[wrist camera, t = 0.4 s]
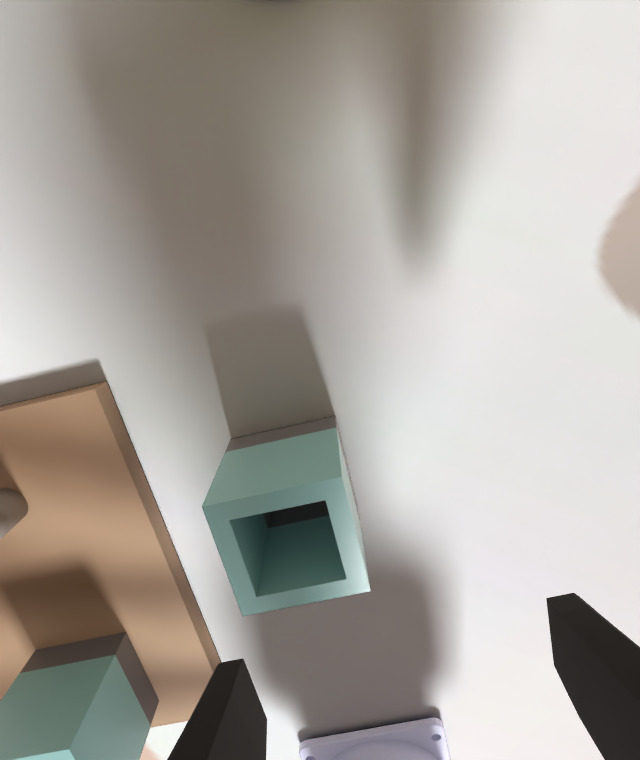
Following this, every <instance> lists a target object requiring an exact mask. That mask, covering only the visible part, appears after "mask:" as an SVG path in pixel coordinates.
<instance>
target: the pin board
mask: <svg viewBox="0 0 640 760" xmlns="http://www.w3.org/2000/svg"><path fill="white" fill-rule="evenodd" d="M122 632H127V634H128V636H129V639H130V641H131V643H132V645H133V647H134V649H135V651H136V653H137V655H138V657H139V659H140V661H141V663H142V666H143V668H144V670H145V672H146V674H147V676H148V678H149V680H150V682H151V684H152V686H153V688H154V690H155V693H156V695H157V697H158V699H159V703H158V706H157V709H156V712H155V715H154V718H153V721H152V724H151V726H150V728H151V727H156V726H162V725H167V724H173V723H178V722H184V721H189V719H190V717H191V715H192V713H193V711H194V709H195V707H196V705H197V703H198V701H199V700H200V698H201V696H202V694H203V692H204V690H205V688H206V686H207V684H208V682H209V680H210V678H211V676H212V674H213V672H214V670H215V668H216V667H217V665H218V664H219V663H221V661H220V659H219V657H218V654H217V652H216V649H215V647H214V644H213V642H212V639H211V637H210V634H209V632H208V629H207V627H206V625H205V622H204V620H203V617H202V615H201V612H200V610H199V607H198V605H197V602H196V600H195V598H194V595H193V593H192V590H191V588H190V585H189V583H188V580H187V578H186V575H185V573H184V570H183V568H182V566H181V563H180V561H179V558H178V556H177V553H176V551H175V548H174V546H173V543H172V541H171V539H170V536H169V534H168V531H167V529H166V526H165V524H164V521H163V519H162V516H161V514H160V511H159V509H158V507H157V504H156V502H155V499H154V497H153V494H152V492H151V489H150V487H149V484H148V482H147V480H146V477H145V475H144V472H143V470H142V467H141V465H140V462H139V460H138V457H137V455H136V452H135V450H134V448H133V445H132V443H131V440H130V438H129V435H128V433H127V430H126V428H125V425H124V423H123V421H122V418H121V416H120V413H119V411H118V408H117V406H116V403H115V401H114V398H113V396H112V393H111V391H110V389H109V386H108V384H107V381H106V382H102V383H98V384H93V385H89V386H85V387H81V388H77V389H72V390H68V391H64V392H60V393H55V394H51V395H47V396H43V397H38V398H34V399H30V400H26V401H21V402H17V403H13V404H9V405H5V406H0V701H1V699H2V698H3V696H4V695H5V693H6V692H7V691H8V689H9V688H10V686H11V685H12V683H13V682H14V680H15V679H16V677H17V676H18V675H19V673H20V672H21V670H22V669H23V667H24V666H25V664H26V663H27V661H28V660H29V659H30V657H31V656H32V654H33V653H34V651H35V650H37V649H42V648H47V647H52V646H57V645H62V644H67V643H72V642H77V641H82V640H87V639H92V638H97V637H102V636H107V635H112V634H117V633H122Z"/></svg>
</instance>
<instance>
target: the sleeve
mask: <svg viewBox="0 0 640 760" xmlns="http://www.w3.org/2000/svg"><path fill="white" fill-rule="evenodd" d="M323 500H324V501H323ZM314 502H315V503H314ZM309 503H310V504H309ZM295 506H296V507H295ZM290 507H291V508H290ZM202 508H203V511H204V513H205V516H206V519H207V522H208V524H209V527H210V530H211V532H212V535H213V538H214V540H215V543H216V546H217V549H218V551H219V554H220V557H221V559H222V562H223V565H224V567H225V570H226V573H227V576H228V578H229V581H230V584H231V586H232V589H233V592H234V594H235V597H236V600H237V602H238V605H239V608H240V611H241V613H242V616H248V615H253V614H258V613H263V612H268V611H273V610H278V609H283V608H288V607H293V606H299V605H304V604H309V603H314V602H319V601H324V600H329V599H334V598H339V597H344V596H349V595H354V594H360V593H365V592H370V591H371V590H370V583H369V577H368V570H367V564H366V558H365V551H364V545H363V539H362V532H361V526H360V519H359V513H358V507H357V503H356V499H355V495H354V490H353V486H352V482H351V478H350V474H349V470H348V466H347V462H346V458H345V454H344V450H343V446H342V441H341V437H340V433H339V429H338V425H337V421H336V417H335V416H333V417H328V418H324V419H319V420H315V421H310V422H306V423H301V424H297V425H293V426H288V427H284V428H279V429H275V430H270V431H266V432H261V433H257V434H252V435H248V436H243V437H239V438H234V439H231V440H230V443H229V445H228V447H227V450H226V452H225V454H224V457H223V459H222V461H221V464H220V466H219V468H218V471H217V473H216V475H215V478H214V480H213V482H212V485H211V487H210V489H209V492H208V494H207V496H206V499H205V501H204V503H203V505H202ZM276 510H277V511H276ZM271 511H272V512H271Z"/></svg>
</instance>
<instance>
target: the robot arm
mask: <svg viewBox="0 0 640 760" xmlns="http://www.w3.org/2000/svg"><path fill="white" fill-rule="evenodd" d="M547 607H548V616H549V624H550V633H551V642H552V651H553V660H554V666H555V668H556V670H557V672H558V674H559V676H560V678H561V680H562V683H563V685H564V687H565V689H566V691H567V693H568V695H569V697H570V699H571V701H572V703H573V705H574V707H575V709H576V711H577V713H578V715H579V717H580V719H581V721H582V722H583V724H584V726H585V727H586V729H587V731H588V732H589V734H590V736H591V737H592V739H593V741H594V742H595V744H596V746H597V747H598V749H599V751H600V752H601V754H602V756H603V757H604V759H605V760H640V647H639V646H638V645H637V644H635V643H634V642H633V641H632V640H630V639H629V638H628V637H627V636H626V635H624V634H623V633H622V632H621V631H619V630H618V629H617V628H616V627H615V626H613V625H612V624H611V623H610V622H609V621H607V620H606V619H605V618H604V617H603V616H601V615H600V614H599V613H598V612H597V611H596V610H594V609H593V608H592V607H591V606H590V605H588V604H587V603H586V602H585V601H584V600H583V599H581V598H580V597H579V596H578V595H576V594H574V593H571V594H566V595H561V596H556V597H550V598H547ZM266 737H267V718H266V716H265V713H264V711H263V708H262V705H261V703H260V700H259V698H258V695H257V693H256V690H255V687H254V685H253V682H252V680H251V677H250V675H249V672H248V670H247V667H246V664H245V662H244V659H238V660H233V661H228V662H223V663H219V664H218V665H217V667H216V668H215V670H214V672H213V674H212V676H211V678H210V680H209V682H208V684H207V686H206V688H205V690H204V692H203V694H202V696H201V698H200V700H199V701H198V703H197V705H196V707H195V709H194V711H193V713H192V715H191V717H190V719H189V721H188V723H187V724H186V726H185V728H184V730H183V732H182V734H181V736H180V737H179V739H178V741H177V743H176V745H175V747H174V748H173V750H172V752H171V754H170V756H169V757H168V759H167V760H266ZM299 754H300V757H301V760H450V756H449V751H448V746H447V742H446V737H445V732H444V728H443V724H442V721H441V720H440V719H438V718H427V719H421V720H416V721H410V722H404V723H399V724H393V725H387V726H382V727H376V728H370V729H365V730H359V731H353V732H348V733H342V734H336V735H331V736H325V737H319V738H314V739H308V740H304V741H303V742H301V743H300V745H299Z"/></svg>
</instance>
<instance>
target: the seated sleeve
mask: <svg viewBox="0 0 640 760" xmlns="http://www.w3.org/2000/svg"><path fill="white" fill-rule="evenodd" d="M158 703H159V699H158V697H157V695H156V693H155V690H154V688H153V686H152V684H151V682H150V680H149V678H148V676H147V674H146V672H145V670H144V668H143V666H142V663H141V661H140V659H139V657H138V655H137V653H136V651H135V649H134V647H133V645H132V643H131V641H130V639H129V636H128V634H127V632H122V633H117V634H112V635H107V636H102V637H97V638H92V639H87V640H82V641H77V642H72V643H67V644H62V645H57V646H52V647H47V648H42V649H37V650H35V651H34V653H33V654H32V656H31V657H30V659H29V660H28V661H27V663H26V664H25V666H24V667H23V669H22V670H21V672H20V673H19V675H18V676H17V677H16V679H15V680H14V682H13V683H12V685H11V686H10V688H9V689H8V691H7V692H6V693H5V695H4V696H3V698H2V699H1V701H0V760H139V759H140V756H141V753H142V750H143V747H144V744H145V741H146V738H147V735H148V732H149V729H150V726H151V724H152V721H153V718H154V715H155V712H156V709H157V706H158Z"/></svg>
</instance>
